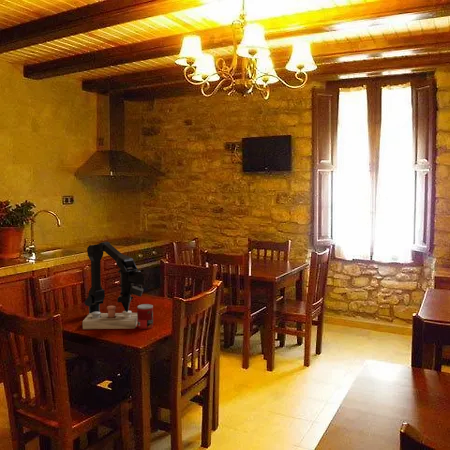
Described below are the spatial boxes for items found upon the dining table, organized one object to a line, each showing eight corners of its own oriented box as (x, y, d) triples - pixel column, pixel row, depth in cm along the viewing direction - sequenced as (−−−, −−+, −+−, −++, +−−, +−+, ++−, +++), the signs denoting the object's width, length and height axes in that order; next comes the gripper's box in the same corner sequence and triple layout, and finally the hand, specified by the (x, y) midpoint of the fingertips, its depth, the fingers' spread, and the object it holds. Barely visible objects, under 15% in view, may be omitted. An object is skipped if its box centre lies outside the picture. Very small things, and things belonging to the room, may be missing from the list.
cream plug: (123, 321, 237) (123, 310, 237) (132, 321, 237) (132, 310, 237) (122, 324, 233) (121, 312, 232) (131, 324, 233) (130, 312, 232)
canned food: (150, 330, 226) (149, 308, 225) (135, 328, 228) (134, 307, 227) (155, 325, 234) (155, 304, 233) (140, 324, 235) (140, 303, 234)
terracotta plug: (108, 316, 237) (107, 305, 236) (117, 316, 237) (116, 305, 236) (106, 319, 232) (105, 308, 232) (115, 319, 232) (115, 307, 232)
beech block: (89, 320, 241) (89, 313, 241) (139, 320, 242) (138, 312, 242) (82, 329, 227) (82, 321, 227) (134, 328, 228) (134, 320, 228)
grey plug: (92, 322, 237) (92, 311, 236) (101, 322, 237) (101, 311, 236) (90, 325, 232) (90, 314, 232) (99, 325, 232) (99, 313, 232)
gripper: (139, 285, 224) (140, 316, 226) (144, 278, 243) (145, 306, 244) (116, 286, 224) (117, 316, 225) (123, 278, 242) (124, 306, 244)
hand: (126, 311), depth 235 cm, fingers closed, pressing on cream plug
